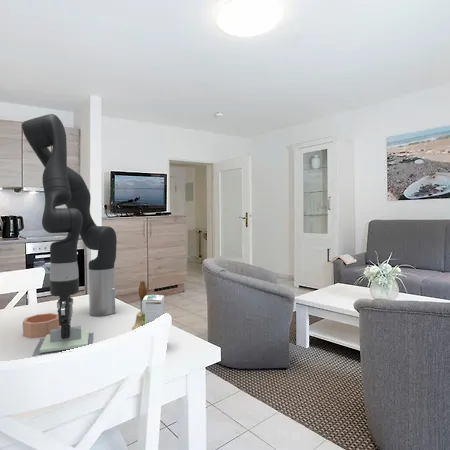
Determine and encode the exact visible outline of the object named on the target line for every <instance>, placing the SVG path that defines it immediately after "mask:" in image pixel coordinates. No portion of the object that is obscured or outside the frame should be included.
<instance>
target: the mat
mask: <svg viewBox="0 0 450 450" xmlns="http://www.w3.org/2000/svg"><path fill="white" fill-rule="evenodd" d="M94 336H95V335H94V332H89V339H88V345H89V344H92V343H93V344H94ZM44 339H45V337H42V338H40V339H39V341H38V343H37V345H36V347H35V349H34V352H33V353H32V355H31V357H36V356H37V357H38V356H45V354H46V355H52V354H51V353H53V354H58V353H57V352H61V353H63V352H62V351H66V350H70V349H66V350H58V351H51V352H43V353H40V348H41V346H42V344H43V341H44Z"/></svg>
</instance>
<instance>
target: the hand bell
mask: <svg viewBox="0 0 450 450" xmlns="http://www.w3.org/2000/svg"><path fill="white" fill-rule="evenodd" d="M147 291H148V290H147V285H146V281H144V280H142V281H140V283H139V286H138V297H139V299H140V311H139V312H137V314H136V316H135V322H134V324H133V326H132V327H131V330H132V331H133V330H134V329H136V328H138V327H140V326H142V300H143V299H144V297H145V296H147V293H148V292H147Z"/></svg>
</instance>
